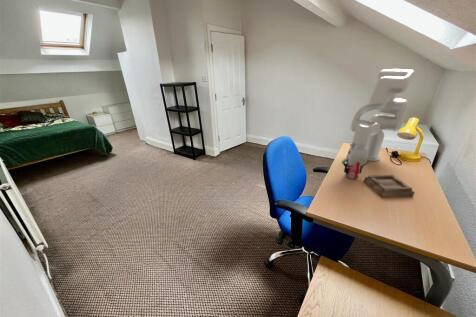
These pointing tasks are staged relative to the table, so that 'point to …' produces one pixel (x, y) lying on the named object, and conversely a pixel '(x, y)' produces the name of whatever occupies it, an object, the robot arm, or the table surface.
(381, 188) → the walnut tray
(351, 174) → the soda can
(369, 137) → the robot arm
